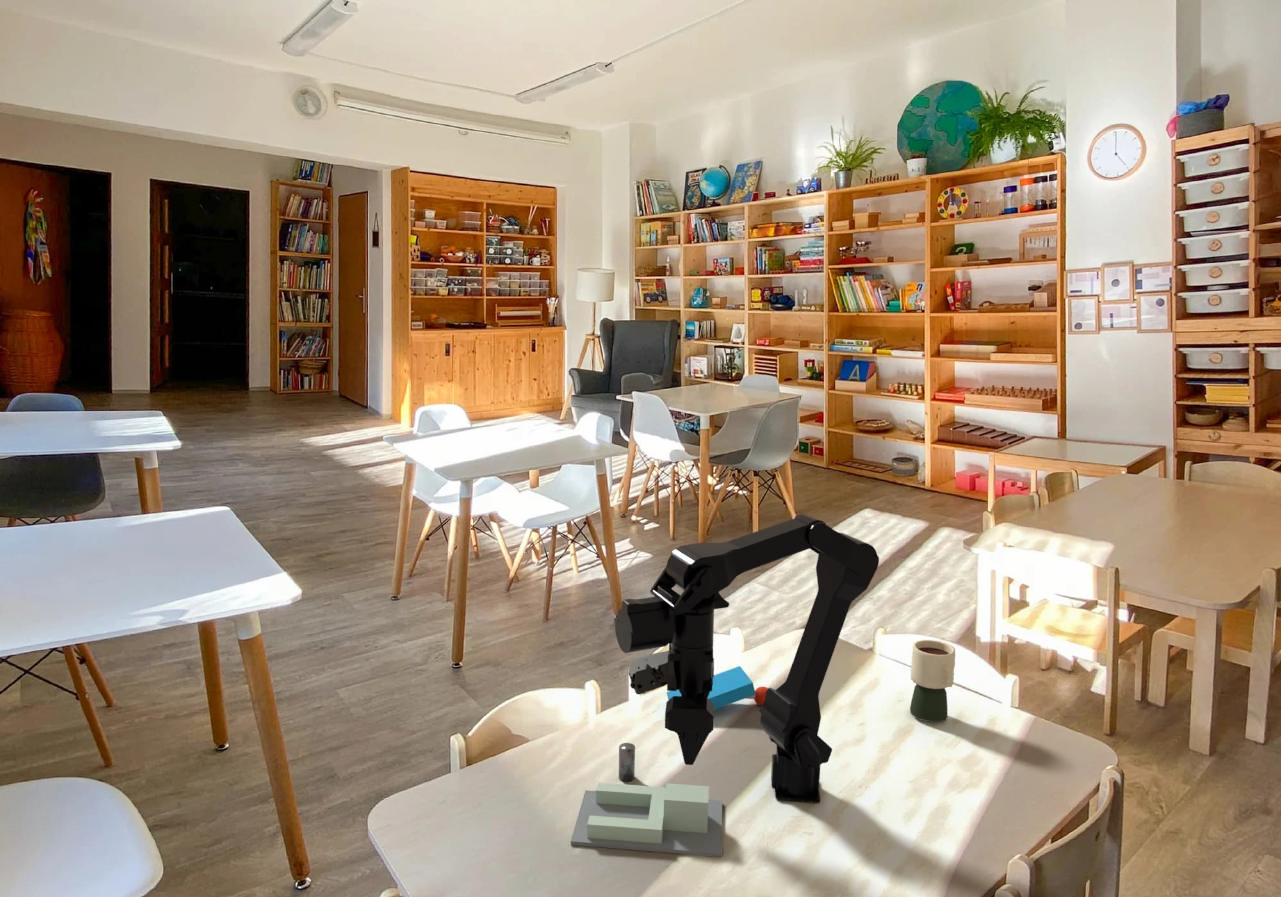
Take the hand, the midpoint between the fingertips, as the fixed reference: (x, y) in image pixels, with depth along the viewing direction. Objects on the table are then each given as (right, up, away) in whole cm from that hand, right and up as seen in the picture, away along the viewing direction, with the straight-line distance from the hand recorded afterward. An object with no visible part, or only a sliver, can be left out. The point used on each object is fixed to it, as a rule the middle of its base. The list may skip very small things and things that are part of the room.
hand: (689, 746), depth 119 cm
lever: (+8, -5, +35) cm, 36 cm away
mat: (-6, -11, 0) cm, 12 cm away
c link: (-6, -10, 0) cm, 12 cm away
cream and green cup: (+44, -6, +32) cm, 55 cm away
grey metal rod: (-9, -9, +12) cm, 17 cm away
